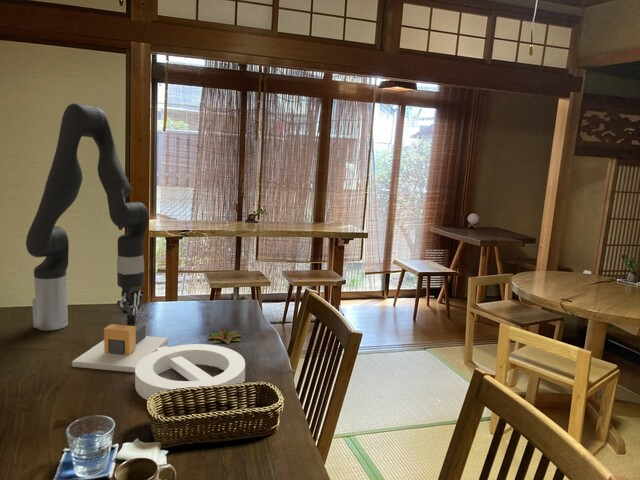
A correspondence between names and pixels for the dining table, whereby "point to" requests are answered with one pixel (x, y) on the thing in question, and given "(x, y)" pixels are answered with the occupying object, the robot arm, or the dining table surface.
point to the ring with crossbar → (187, 368)
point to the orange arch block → (120, 336)
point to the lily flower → (224, 334)
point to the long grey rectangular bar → (119, 345)
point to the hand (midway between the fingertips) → (131, 325)
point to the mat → (118, 356)
